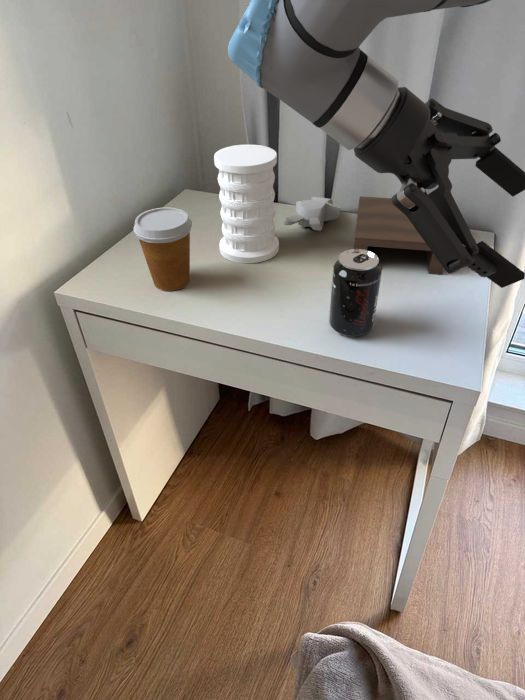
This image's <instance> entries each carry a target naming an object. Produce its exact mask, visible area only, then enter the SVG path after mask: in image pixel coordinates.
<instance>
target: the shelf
mask: <svg viewBox="0 0 525 700" xmlns="http://www.w3.org/2000/svg"><path fill="white" fill-rule="evenodd" d="M391 199H392V197H379V196H378V197H377V196H376V197H375V196H361V195H360V196H359V199H358V207H357V215H356V223H355V229H354V230H355V231H354V239H353V240H354V241H353V248H352V249H362V250H367V251H368V247H373V248H385V249H386V248H387V249H388V248H389V249H399V250H400V249H401V250H412V251H413V250H415V251H425V254H426V263H427V271H428V272H427V273H428V274H429V275H440V276H442V275H443V274H444V271H445V269H444V268H443V266H442V265H441V264H440V262H439V261H438V259H437V258H436V257H435V255H434V254H433V252H432V251H431V250H430V248H429V247H428V245H427V244H426V243H425V241H424V240H423V238H422V237H421V236H420V234H419V233H418V231H417V230H416V229H415V227H414V226H413V224H412V223H411V222H410V220H409V219H408V217H407V216H406V215H405V214H404V213H402V212H401V211H400V210H399V209H398V208H397V207H395V206H394V205H393V203H392V200H391Z"/></svg>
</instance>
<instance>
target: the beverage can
mask: <svg viewBox="0 0 525 700" xmlns="http://www.w3.org/2000/svg"><path fill="white" fill-rule="evenodd" d="M379 262H380V259H379V257H378V255H377V254H376V253H374V252H372V251H370V250H368V249H367V250H362V249H353V248H352V249H347V250H344V251H342V252H341V253H340V254H339V255H338V259H337V261H335V263H334V264H333V268H332V280H331V290H330V291H331V292H330V304H329V305H330V306H329V320H328V321H329V326H330V327H331V328H332V329H333V330H334V331H335V332H337V333H338V334H340V335H343V336H346V337H359V336H363V335H365V334H368V333H370V331H371V330H372V329H373V328H374V324H375V319H376V313H377V306H378V300H379V293H380V287H381V280H382V273H383V271H382V270H383V269H382V266H381V265H380V263H379Z"/></svg>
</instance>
